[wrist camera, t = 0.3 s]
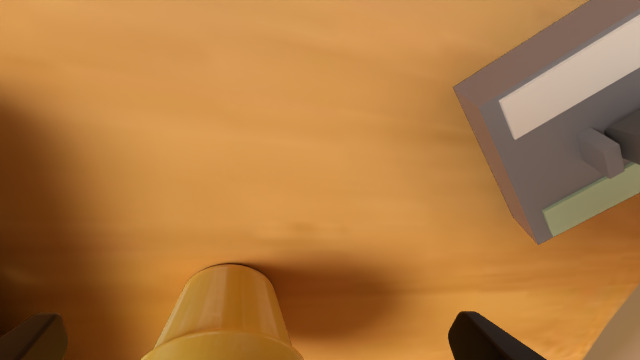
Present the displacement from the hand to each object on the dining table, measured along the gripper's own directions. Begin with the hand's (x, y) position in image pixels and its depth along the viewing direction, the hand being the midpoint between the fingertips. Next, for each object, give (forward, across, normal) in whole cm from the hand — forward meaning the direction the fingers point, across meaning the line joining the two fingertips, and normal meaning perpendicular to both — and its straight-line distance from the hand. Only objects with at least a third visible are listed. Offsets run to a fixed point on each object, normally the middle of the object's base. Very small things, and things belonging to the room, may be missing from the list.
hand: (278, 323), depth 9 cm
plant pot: (+14, -1, -16) cm, 21 cm away
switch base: (+14, +20, +2) cm, 24 cm away
